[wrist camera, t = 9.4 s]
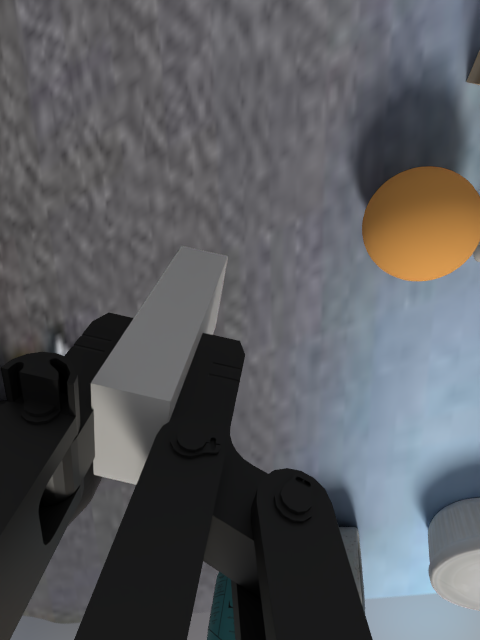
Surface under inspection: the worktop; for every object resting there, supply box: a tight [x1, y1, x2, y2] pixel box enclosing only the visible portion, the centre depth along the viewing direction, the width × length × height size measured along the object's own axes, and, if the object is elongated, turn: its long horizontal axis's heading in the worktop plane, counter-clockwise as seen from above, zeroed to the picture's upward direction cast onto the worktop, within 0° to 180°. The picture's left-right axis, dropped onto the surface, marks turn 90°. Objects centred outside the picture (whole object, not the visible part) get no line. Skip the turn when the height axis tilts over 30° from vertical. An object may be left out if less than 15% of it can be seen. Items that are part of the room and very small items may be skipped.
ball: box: [362, 166, 480, 281], centre depth 22 cm, size 6×6×6 cm
